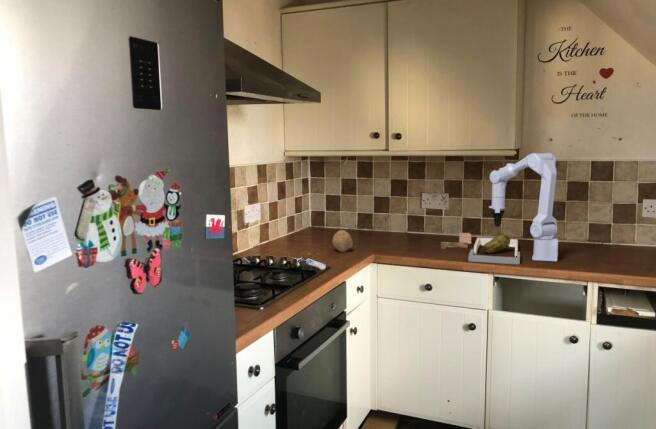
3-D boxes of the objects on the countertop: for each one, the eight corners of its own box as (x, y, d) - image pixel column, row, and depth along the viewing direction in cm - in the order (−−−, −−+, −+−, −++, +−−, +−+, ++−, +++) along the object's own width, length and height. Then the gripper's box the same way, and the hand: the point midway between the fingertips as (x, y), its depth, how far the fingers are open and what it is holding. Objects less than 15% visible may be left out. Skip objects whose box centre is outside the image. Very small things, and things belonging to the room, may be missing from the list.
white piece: (517, 246, 256) (517, 239, 255) (517, 256, 235) (517, 248, 235) (477, 244, 261) (477, 237, 261) (473, 254, 241) (473, 246, 241)
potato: (478, 251, 248) (478, 233, 247) (506, 250, 248) (506, 232, 247) (484, 255, 239) (485, 236, 238) (513, 254, 240) (514, 236, 239)
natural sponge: (328, 251, 251) (328, 229, 250) (344, 248, 256) (344, 227, 254) (339, 254, 243) (339, 232, 242) (355, 252, 248) (355, 230, 247)
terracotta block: (468, 241, 269) (468, 232, 268) (471, 243, 264) (471, 234, 264) (459, 242, 269) (459, 233, 268) (461, 243, 264) (461, 234, 264)
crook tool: (467, 246, 258) (467, 242, 257) (468, 249, 252) (468, 245, 251) (440, 246, 259) (441, 242, 259) (441, 248, 253) (441, 244, 253)
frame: (519, 257, 234) (519, 251, 233) (519, 264, 221) (519, 258, 221) (471, 254, 240) (471, 249, 240) (468, 261, 228) (468, 255, 228)
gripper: (490, 195, 259) (489, 223, 261) (488, 198, 245) (487, 228, 247) (505, 195, 257) (504, 224, 259) (505, 198, 243) (504, 229, 245)
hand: (497, 226), depth 253 cm, fingers closed
